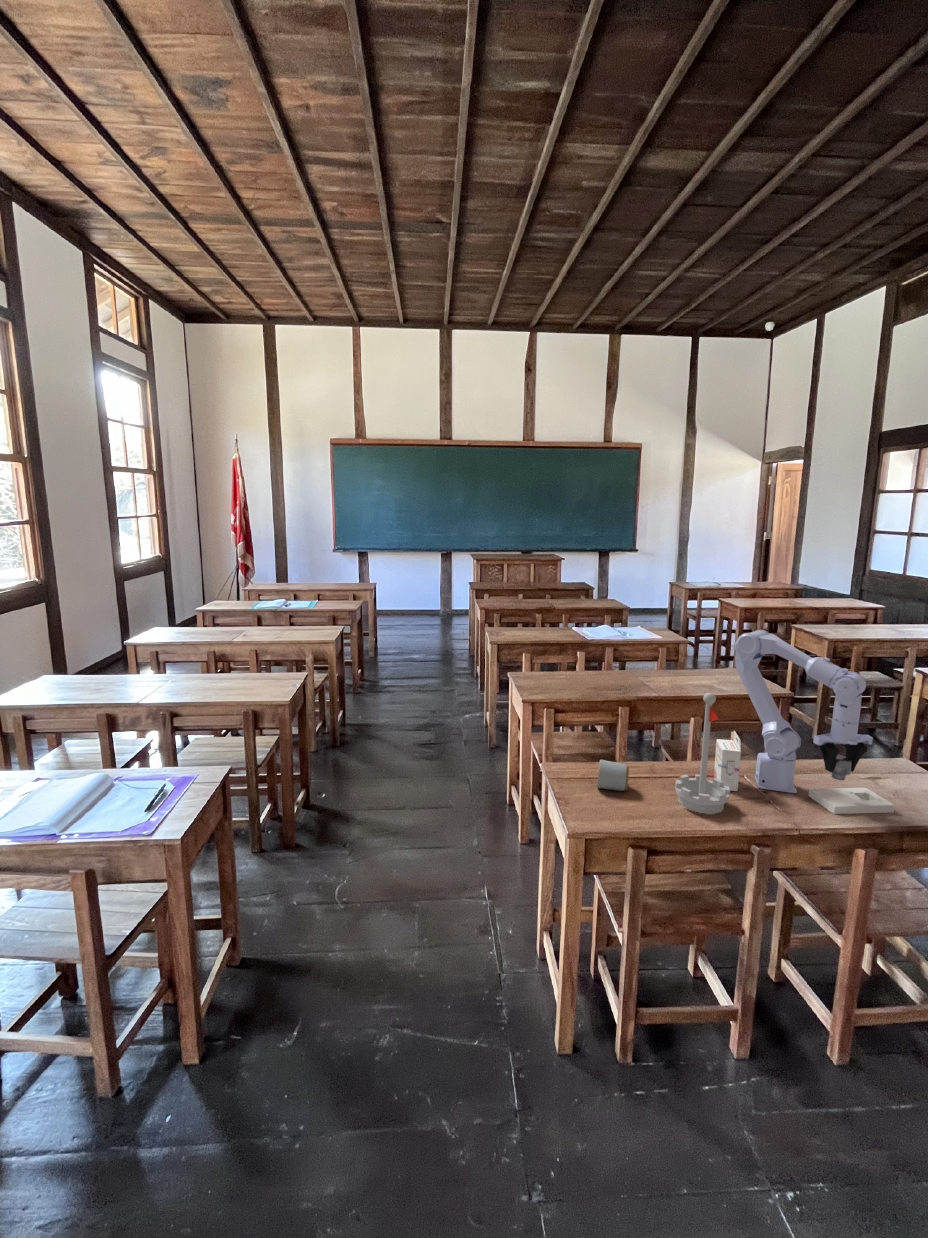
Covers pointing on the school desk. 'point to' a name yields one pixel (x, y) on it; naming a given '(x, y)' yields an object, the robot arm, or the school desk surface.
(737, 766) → the ink cartridge box
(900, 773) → the school desk surface
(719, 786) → the flag stand
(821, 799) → the board
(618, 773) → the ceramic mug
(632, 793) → the school desk surface
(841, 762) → the peg
